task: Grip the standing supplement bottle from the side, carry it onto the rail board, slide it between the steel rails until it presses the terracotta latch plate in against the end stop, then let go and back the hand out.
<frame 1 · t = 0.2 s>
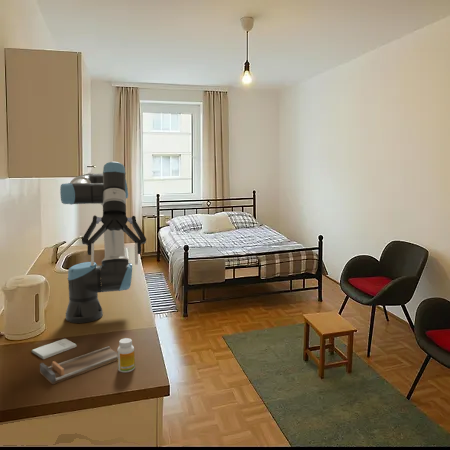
hand: (114, 263, 129), 34 cm above the worktop, tool tilted 30°, fingers open, 13 cm apart
rail board: (83, 365, 133), on the worktop
external hard drive: (54, 351, 144), on the worktop
supplement bottle: (126, 369, 131), on the worktop
latch plate: (58, 368, 127), point 2 cm above the worktop, slide at 0.0 cm
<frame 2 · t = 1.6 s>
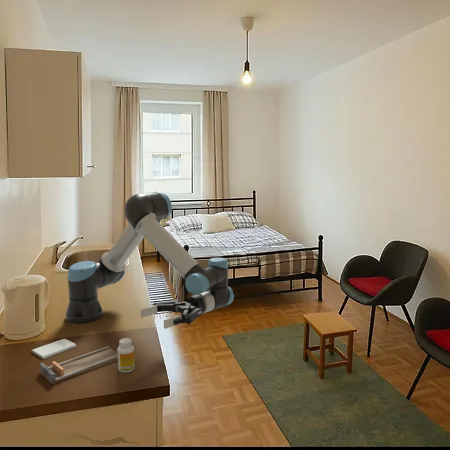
hand: (152, 319, 136), 14 cm above the worktop, tool horizontal, fingers open, 13 cm apart
nothing on the worktop moved.
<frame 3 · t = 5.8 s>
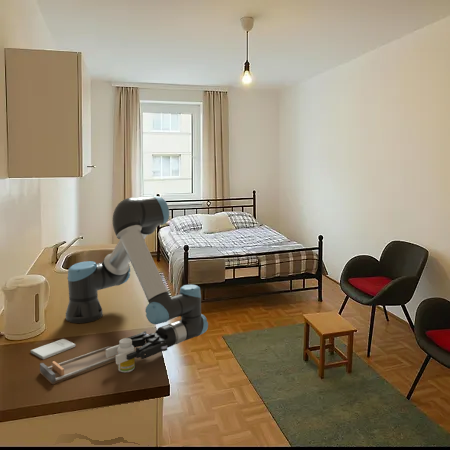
hand: (111, 356, 127), 6 cm above the worktop, tool horizontal, fingers closed on supplement bottle, 5 cm apart
supplement bottle: (126, 369, 131), on the worktop, touching gripper
everything else where it was.
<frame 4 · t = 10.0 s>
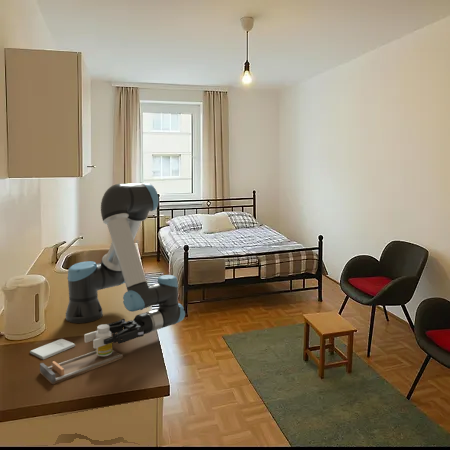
hand: (89, 341, 134), 8 cm above the worktop, tool horizontal, fingers closed on supplement bottle, 5 cm apart
supplement bottle: (104, 353, 138), point 1 cm above the worktop, touching gripper
everything else where it was.
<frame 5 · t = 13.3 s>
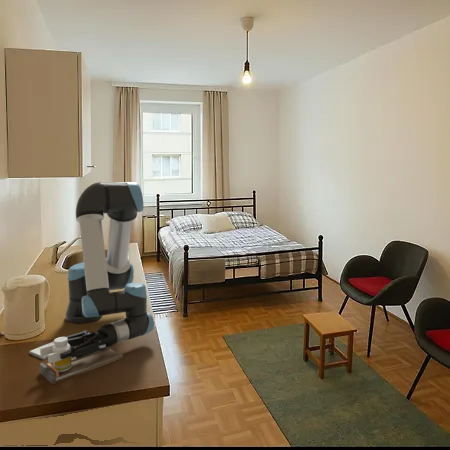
hand: (44, 355, 124), 8 cm above the worktop, tool horizontal, fingers closed on supplement bottle, 5 cm apart
supplement bottle: (62, 368, 128), point 1 cm above the worktop, touching gripper
latch plate: (52, 370, 126), point 2 cm above the worktop, slide at 1.7 cm
everything else where it was.
when the fingers open (8 cm above the worktop, at t = 14.3 s): supplement bottle stays where it is, resting on rail board.
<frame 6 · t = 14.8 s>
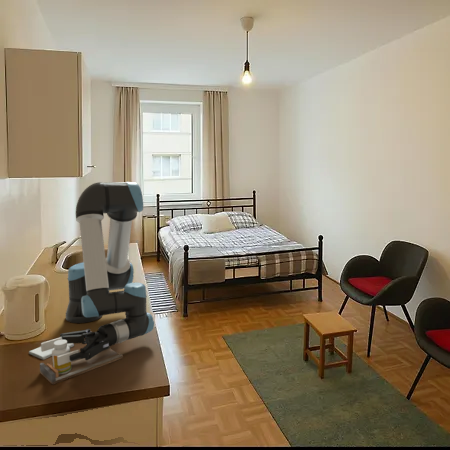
hand: (49, 354, 125), 8 cm above the worktop, tool horizontal, fingers open, 12 cm apart
supplement bottle: (62, 371, 128), resting on rail board
everything else where it was.
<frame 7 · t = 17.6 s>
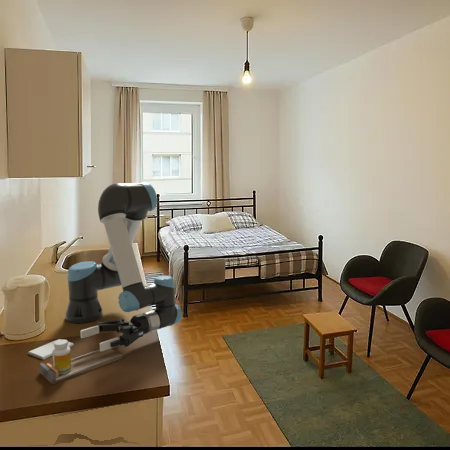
hand: (90, 340, 134), 8 cm above the worktop, tool horizontal, fingers open, 13 cm apart
nothing on the worktop moved.
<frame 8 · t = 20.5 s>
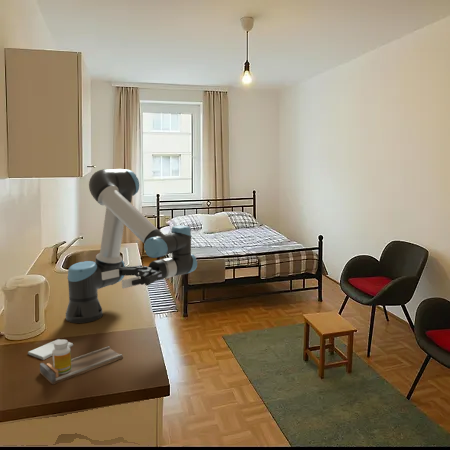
hand: (111, 280, 140), 26 cm above the worktop, tool horizontal, fingers open, 13 cm apart
at the end: latch plate slide at 1.8 cm; supplement bottle 0.2 cm from the target spot on the rail board, point 0.4 cm above the rail board's base; supplement bottle tilted 0° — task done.
